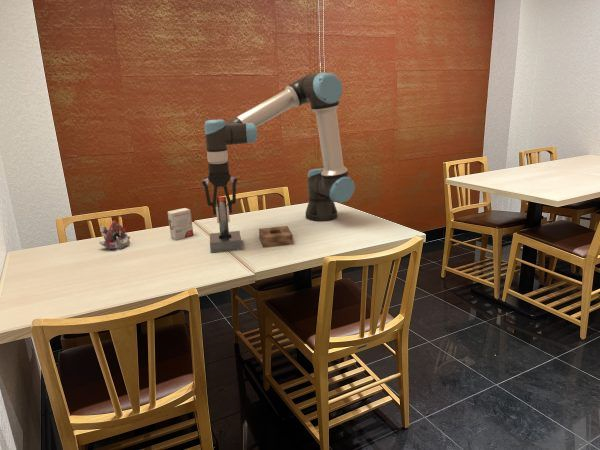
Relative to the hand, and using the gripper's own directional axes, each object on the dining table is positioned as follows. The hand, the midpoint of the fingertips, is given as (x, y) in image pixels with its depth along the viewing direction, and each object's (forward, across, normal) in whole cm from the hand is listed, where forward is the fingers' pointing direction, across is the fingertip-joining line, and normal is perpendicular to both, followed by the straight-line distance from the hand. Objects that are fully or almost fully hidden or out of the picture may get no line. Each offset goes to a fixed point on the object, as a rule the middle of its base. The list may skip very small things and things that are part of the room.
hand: (223, 221), depth 173 cm
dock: (+10, 0, 0) cm, 10 cm away
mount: (+10, -20, 0) cm, 23 cm away
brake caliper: (+11, +44, -13) cm, 47 cm away
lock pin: (+6, 0, 0) cm, 6 cm away
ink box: (+10, +18, -18) cm, 27 cm away
